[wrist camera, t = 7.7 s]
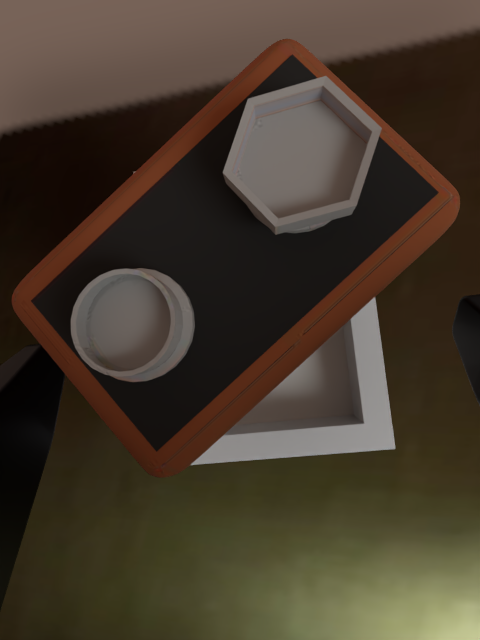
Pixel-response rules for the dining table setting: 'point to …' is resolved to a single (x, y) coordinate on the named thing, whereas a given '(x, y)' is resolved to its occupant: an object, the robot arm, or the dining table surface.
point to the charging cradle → (320, 403)
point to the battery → (232, 256)
